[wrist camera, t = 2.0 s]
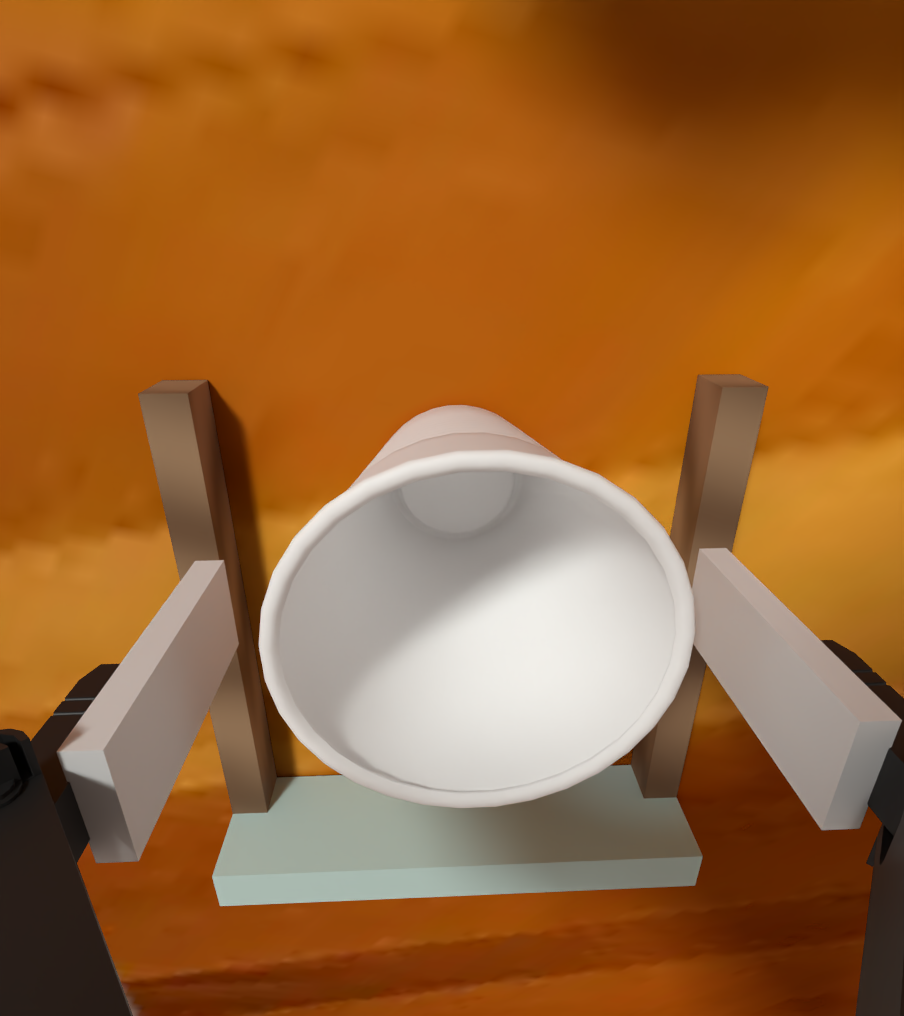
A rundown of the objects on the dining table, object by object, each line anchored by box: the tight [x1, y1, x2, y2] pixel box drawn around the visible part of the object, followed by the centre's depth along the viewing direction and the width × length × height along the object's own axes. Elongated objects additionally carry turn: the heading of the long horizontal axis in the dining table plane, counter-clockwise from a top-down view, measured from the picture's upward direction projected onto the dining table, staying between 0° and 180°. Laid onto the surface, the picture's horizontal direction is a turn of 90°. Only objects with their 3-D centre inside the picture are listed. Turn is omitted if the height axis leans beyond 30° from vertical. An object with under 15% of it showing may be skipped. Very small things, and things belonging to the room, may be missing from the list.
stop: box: [212, 765, 703, 906], centre depth 28 cm, size 2×21×5 cm, turn 90°
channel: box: [138, 374, 768, 814], centre depth 25 cm, size 22×21×2 cm
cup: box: [259, 405, 695, 808], centre depth 18 cm, size 10×10×11 cm
